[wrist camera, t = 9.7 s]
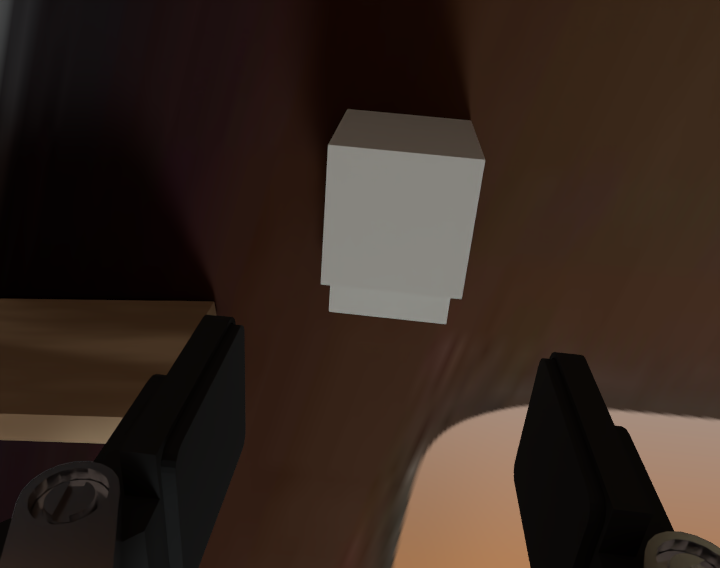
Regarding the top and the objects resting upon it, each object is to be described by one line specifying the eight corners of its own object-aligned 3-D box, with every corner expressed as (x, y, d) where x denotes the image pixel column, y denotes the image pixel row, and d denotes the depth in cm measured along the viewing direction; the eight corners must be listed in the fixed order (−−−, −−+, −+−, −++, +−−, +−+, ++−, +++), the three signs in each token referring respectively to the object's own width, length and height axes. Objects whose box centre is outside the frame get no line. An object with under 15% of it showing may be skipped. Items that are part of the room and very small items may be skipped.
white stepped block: (347, 108, 25) (328, 144, 20) (470, 120, 25) (485, 159, 20) (336, 284, 29) (317, 355, 23) (443, 295, 28) (449, 369, 23)
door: (223, 344, 31) (154, 474, 23) (-72, 338, 32) (-235, 459, 24) (216, 297, 29) (141, 417, 21) (-89, 293, 31) (-268, 405, 23)
